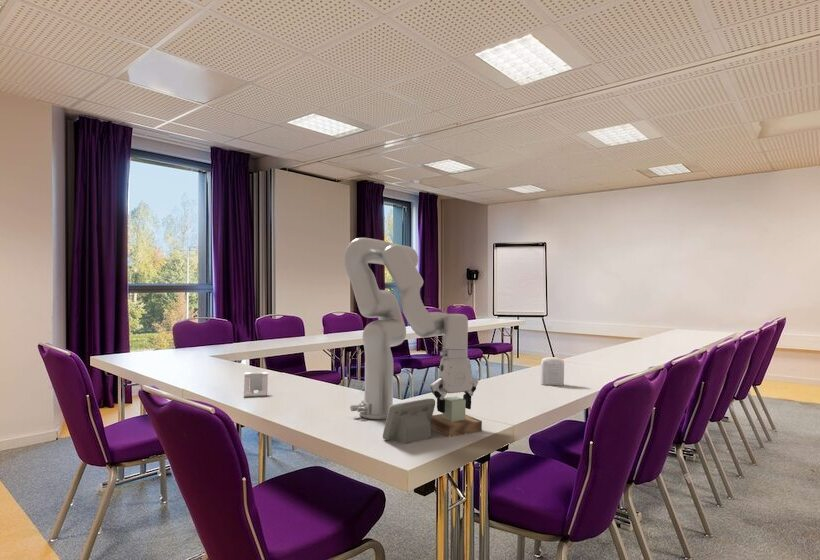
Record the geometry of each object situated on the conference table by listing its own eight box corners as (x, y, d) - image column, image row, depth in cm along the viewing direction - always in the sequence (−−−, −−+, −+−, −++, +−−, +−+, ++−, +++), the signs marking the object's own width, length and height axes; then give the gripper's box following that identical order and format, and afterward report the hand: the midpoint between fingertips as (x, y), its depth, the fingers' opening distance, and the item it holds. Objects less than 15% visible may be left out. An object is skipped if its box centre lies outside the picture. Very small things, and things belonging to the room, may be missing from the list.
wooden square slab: (448, 436, 138) (449, 426, 138) (426, 425, 148) (427, 416, 148) (481, 431, 144) (481, 421, 144) (458, 420, 154) (458, 411, 154)
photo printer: (562, 384, 216) (562, 356, 217) (565, 386, 212) (565, 358, 212) (539, 383, 217) (539, 356, 217) (541, 385, 213) (542, 357, 213)
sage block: (451, 421, 143) (452, 401, 143) (442, 417, 147) (442, 398, 147) (465, 419, 145) (465, 399, 145) (455, 415, 149) (456, 396, 150)
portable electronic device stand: (243, 397, 181) (244, 375, 181) (244, 393, 188) (245, 371, 188) (267, 396, 183) (267, 374, 183) (267, 392, 191) (267, 371, 191)
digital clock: (427, 430, 144) (428, 395, 144) (442, 439, 136) (442, 401, 136) (377, 436, 137) (378, 399, 137) (389, 446, 129) (390, 407, 129)
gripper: (438, 357, 139) (437, 416, 139) (485, 354, 147) (484, 409, 147) (424, 354, 145) (423, 410, 145) (470, 351, 154) (469, 404, 154)
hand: (454, 410), depth 146 cm, fingers open, 9 cm apart
